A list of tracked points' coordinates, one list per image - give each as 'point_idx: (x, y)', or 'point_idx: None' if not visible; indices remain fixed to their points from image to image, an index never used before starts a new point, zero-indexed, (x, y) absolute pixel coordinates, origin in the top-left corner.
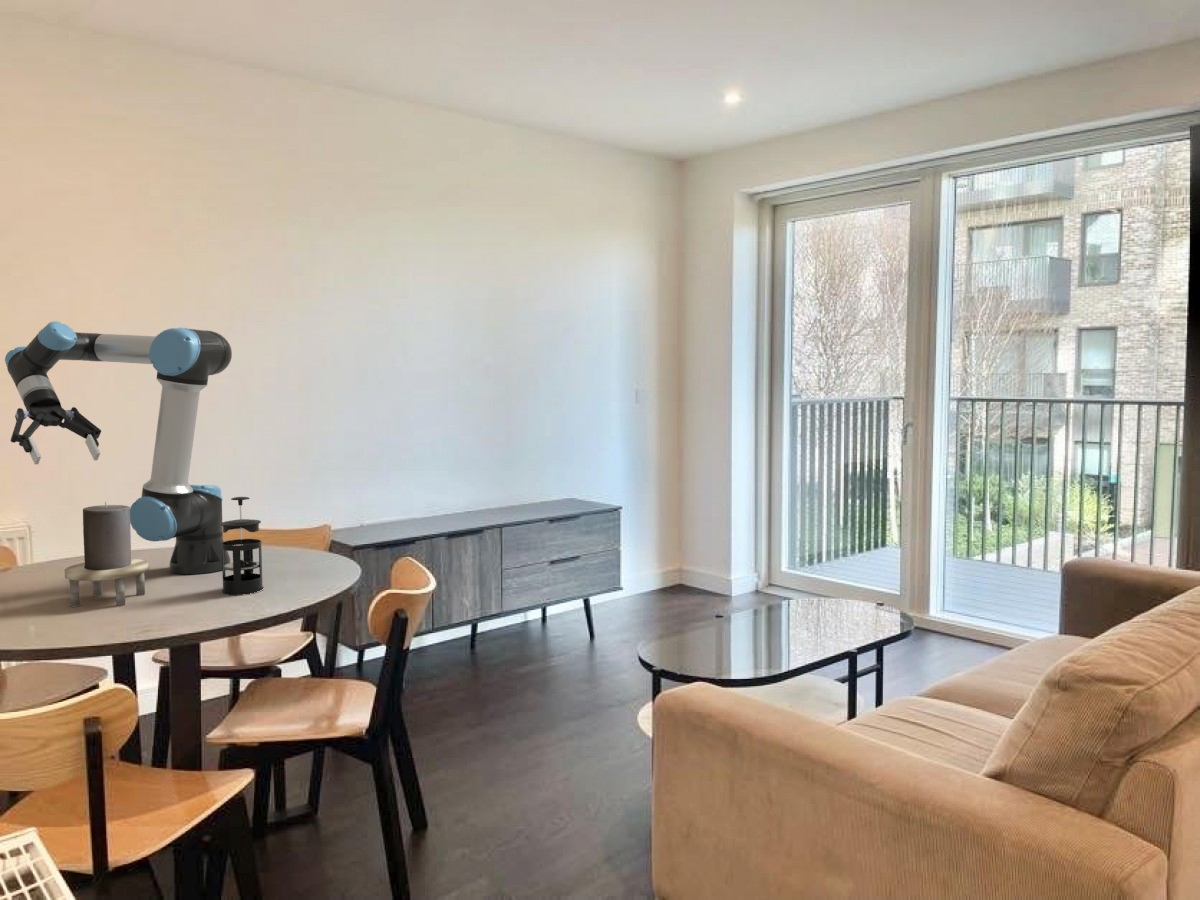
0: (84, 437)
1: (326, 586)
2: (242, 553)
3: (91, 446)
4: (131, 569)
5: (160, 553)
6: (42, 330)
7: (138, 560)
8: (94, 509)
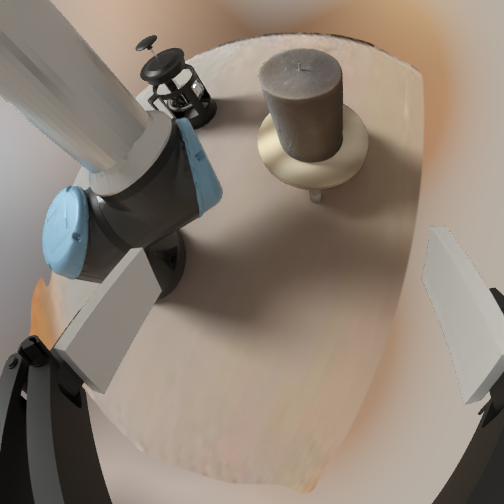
0: (85, 411)
1: (151, 93)
2: (178, 87)
3: (117, 311)
4: None
5: (136, 408)
6: None
7: (263, 145)
8: (325, 63)
